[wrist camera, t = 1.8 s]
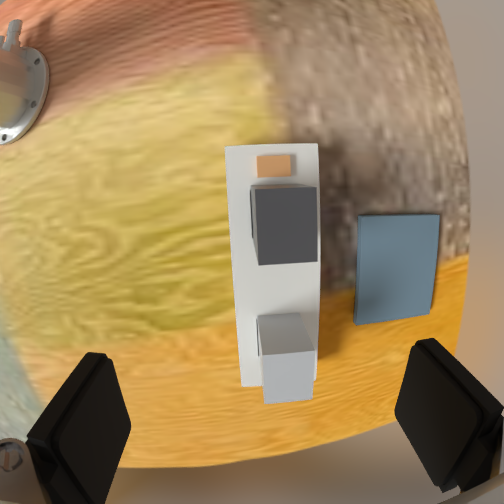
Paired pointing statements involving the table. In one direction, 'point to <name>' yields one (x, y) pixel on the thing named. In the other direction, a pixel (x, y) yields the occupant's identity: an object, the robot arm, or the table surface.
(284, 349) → the block
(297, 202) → the block
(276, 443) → the table surface
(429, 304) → the mat
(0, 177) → the table surface
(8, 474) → the robot arm
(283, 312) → the power strip
